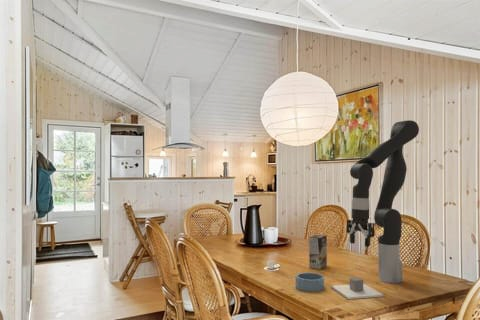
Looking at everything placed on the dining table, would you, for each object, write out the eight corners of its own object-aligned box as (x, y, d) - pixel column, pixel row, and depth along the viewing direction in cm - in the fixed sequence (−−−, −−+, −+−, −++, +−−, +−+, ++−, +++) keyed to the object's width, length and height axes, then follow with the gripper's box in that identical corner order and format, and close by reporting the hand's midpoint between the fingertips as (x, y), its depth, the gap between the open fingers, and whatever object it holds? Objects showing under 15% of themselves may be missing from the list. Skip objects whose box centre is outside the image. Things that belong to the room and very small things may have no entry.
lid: (363, 285, 164) (363, 273, 164) (383, 296, 149) (383, 283, 149) (331, 287, 161) (331, 275, 161) (348, 299, 146) (348, 285, 146)
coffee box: (320, 269, 193) (319, 238, 193) (309, 267, 197) (308, 237, 197) (327, 265, 200) (326, 235, 201) (316, 264, 204) (315, 234, 205)
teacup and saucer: (279, 267, 200) (279, 259, 200) (281, 271, 192) (281, 263, 192) (263, 267, 199) (262, 259, 200) (264, 271, 191) (264, 263, 192)
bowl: (317, 283, 170) (317, 271, 170) (328, 291, 158) (328, 279, 158) (292, 284, 167) (292, 273, 168) (301, 293, 156) (301, 281, 156)
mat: (364, 286, 165) (364, 284, 165) (385, 298, 149) (385, 296, 149) (330, 288, 161) (330, 287, 161) (348, 301, 146) (348, 299, 146)
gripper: (379, 209, 163) (378, 247, 162) (354, 206, 175) (353, 241, 174) (366, 209, 159) (366, 248, 158) (342, 206, 171) (341, 242, 171)
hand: (359, 244), depth 166 cm, fingers open, 8 cm apart
